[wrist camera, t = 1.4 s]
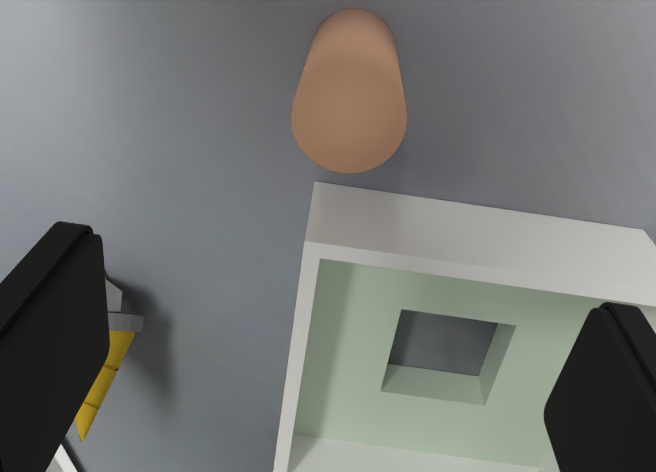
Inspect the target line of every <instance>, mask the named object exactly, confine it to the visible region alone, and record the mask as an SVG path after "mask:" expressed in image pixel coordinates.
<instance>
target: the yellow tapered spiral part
mask: <svg viewBox="0 0 656 472" xmlns="http://www.w3.org/2000/svg"><path fill="white" fill-rule="evenodd" d="M105 282H106V295H107V308H108V312H109V313H108V321H109V334H110V349H109V354H108V357H107V359H106V362H105V364H104V365H103V367H102V369H101V371H100V373H99V375H98V376H97V378H96V380H95V382H94V384H93V386H92V387H91V389H90V391H89V393H88V395H87V397H86V399H85V400H84V402H83V404H82V406H81V408H80V410H79V411H78V413H77V415H76V417H75V422H76V426H77V429H78V431H79V437H80V441H84V439H85V437H86V435H87V433H88V431H89V429H90V426H91V424H92V422H93V420H94V418H95V416H96V414H97V410H98V409H99V408H100V406H101V404H102V402H103V400H104V398H105V396H106V394H107V392H108V389H109V387H110V385H111V383H112V381H113V379H114V377H115V375H116V371H117V370H118V369H119V367H120V365H121V363H122V361H123V359H124V357H125V355H126V352H127V350H128V348H129V346H130V344H131V342H132V340H133V338H134V336H135V333H143V324H144V316H139V315H131V314H120V309H121V300H122V291H121V290H120V289H118V288H117V287H116V286H114V285H113V284H112V283H110V282H109V281H108V280H107V278H106V275H105Z"/></svg>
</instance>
